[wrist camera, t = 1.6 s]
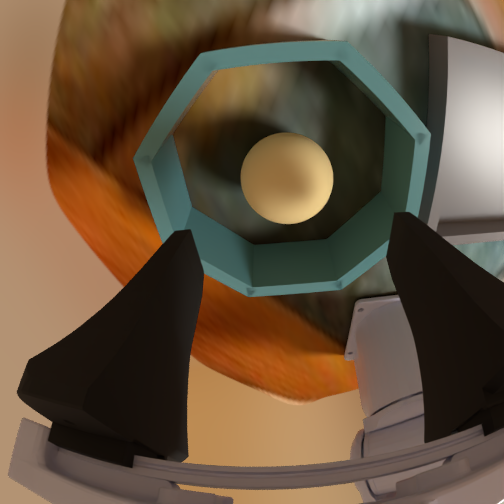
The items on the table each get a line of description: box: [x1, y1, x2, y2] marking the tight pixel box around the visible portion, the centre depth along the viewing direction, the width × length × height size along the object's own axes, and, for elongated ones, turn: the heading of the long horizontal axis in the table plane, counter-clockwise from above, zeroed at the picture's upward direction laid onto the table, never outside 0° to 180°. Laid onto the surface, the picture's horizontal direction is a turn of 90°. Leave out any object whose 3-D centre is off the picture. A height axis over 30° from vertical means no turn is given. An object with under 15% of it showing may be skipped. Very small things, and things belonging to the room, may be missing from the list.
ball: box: [241, 133, 333, 224], centre depth 14 cm, size 4×4×4 cm
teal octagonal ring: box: [133, 40, 431, 297], centre depth 15 cm, size 13×13×4 cm
